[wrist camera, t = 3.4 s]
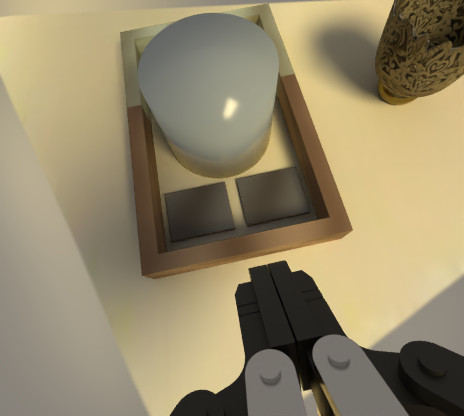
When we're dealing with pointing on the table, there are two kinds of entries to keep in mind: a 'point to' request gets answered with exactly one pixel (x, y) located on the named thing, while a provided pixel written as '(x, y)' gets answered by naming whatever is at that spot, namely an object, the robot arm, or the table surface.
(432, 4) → the cup
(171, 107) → the slate stoneware canister
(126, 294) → the table surface
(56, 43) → the table surface
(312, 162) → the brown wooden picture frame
